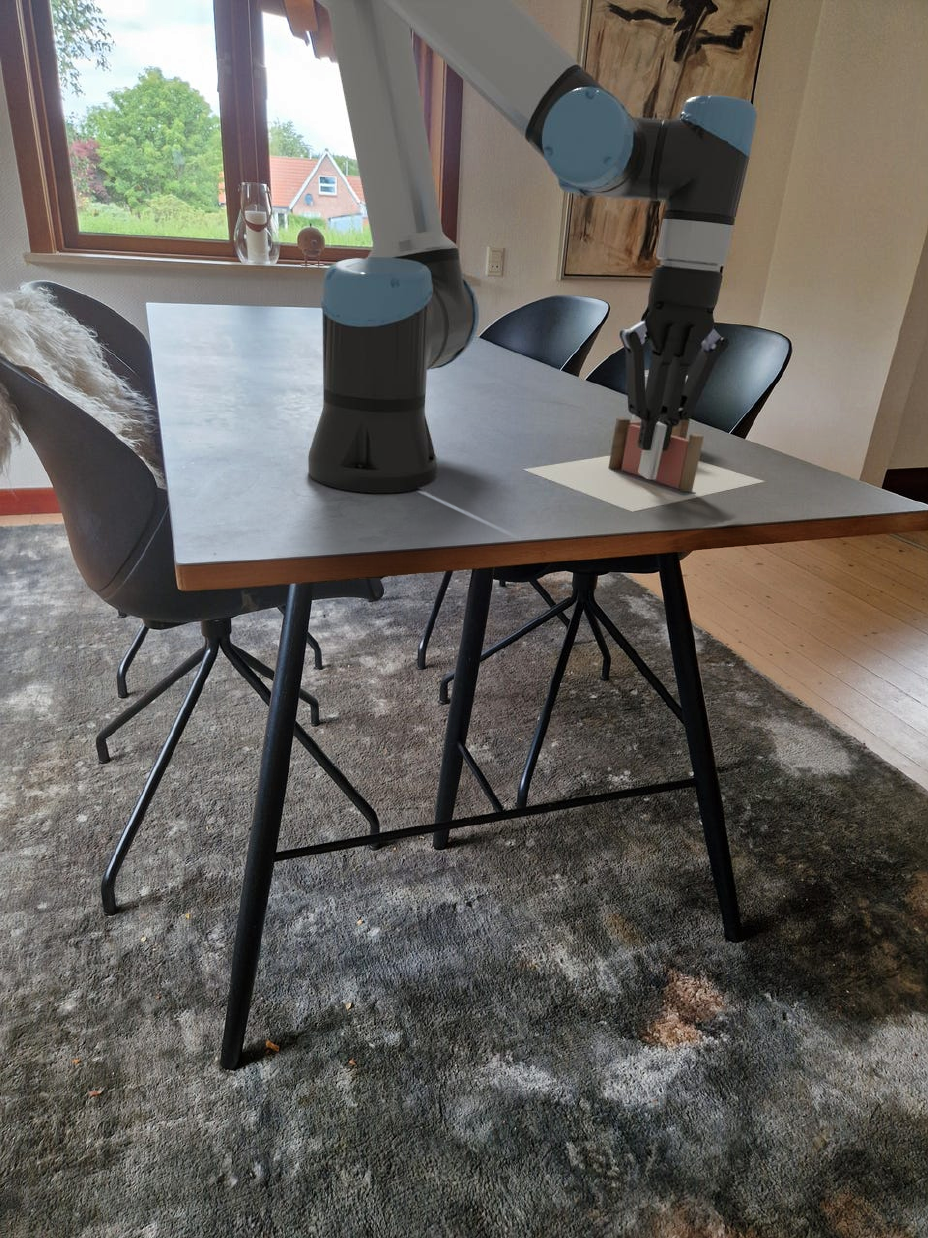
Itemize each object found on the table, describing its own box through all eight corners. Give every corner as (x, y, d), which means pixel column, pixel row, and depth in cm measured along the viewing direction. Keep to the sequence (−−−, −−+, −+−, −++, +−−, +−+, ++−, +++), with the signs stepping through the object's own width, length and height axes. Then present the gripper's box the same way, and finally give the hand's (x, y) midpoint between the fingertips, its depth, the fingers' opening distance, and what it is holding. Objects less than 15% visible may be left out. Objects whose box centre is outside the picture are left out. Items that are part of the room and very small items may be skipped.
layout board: (631, 515, 88) (632, 510, 88) (522, 472, 100) (522, 468, 100) (764, 484, 104) (765, 480, 103) (656, 450, 116) (657, 447, 116)
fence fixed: (615, 471, 102) (624, 421, 99) (605, 467, 103) (613, 418, 101) (684, 459, 111) (693, 412, 108) (674, 455, 112) (683, 409, 109)
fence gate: (694, 490, 96) (706, 436, 93) (687, 492, 95) (698, 438, 92) (627, 468, 103) (636, 417, 100) (619, 469, 102) (628, 418, 99)
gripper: (723, 269, 91) (679, 468, 101) (622, 258, 88) (587, 465, 98) (758, 273, 84) (708, 486, 95) (650, 262, 81) (610, 483, 92)
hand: (646, 475), depth 96 cm, fingers closed
